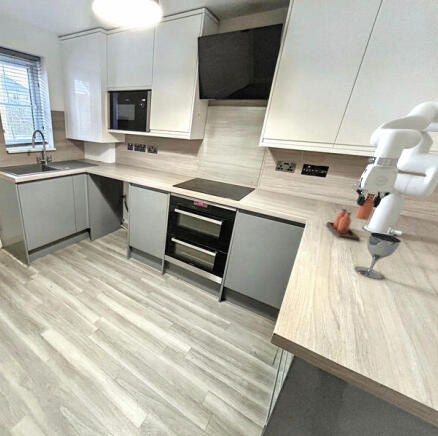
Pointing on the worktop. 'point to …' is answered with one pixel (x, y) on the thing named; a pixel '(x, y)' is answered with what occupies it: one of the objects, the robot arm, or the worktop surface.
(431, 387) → the worktop surface
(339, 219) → the tray bottle
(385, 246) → the wine glass
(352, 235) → the tray
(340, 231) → the tray bottle
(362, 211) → the loose bottle
